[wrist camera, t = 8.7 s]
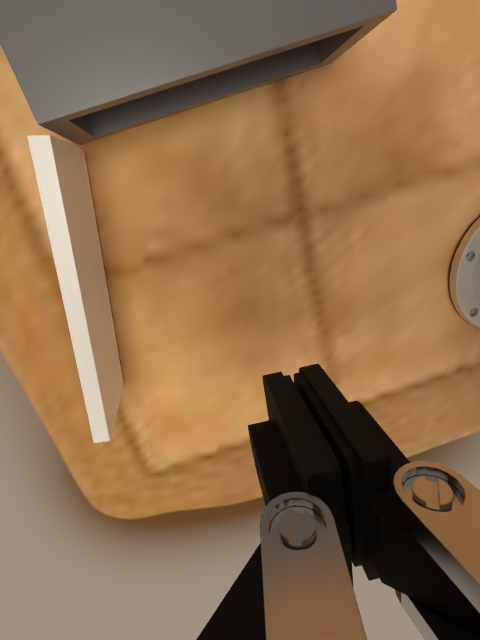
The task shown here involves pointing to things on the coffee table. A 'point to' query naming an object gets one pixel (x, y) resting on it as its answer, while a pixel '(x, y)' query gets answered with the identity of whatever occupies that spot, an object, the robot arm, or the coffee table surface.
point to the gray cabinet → (165, 53)
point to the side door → (80, 276)
